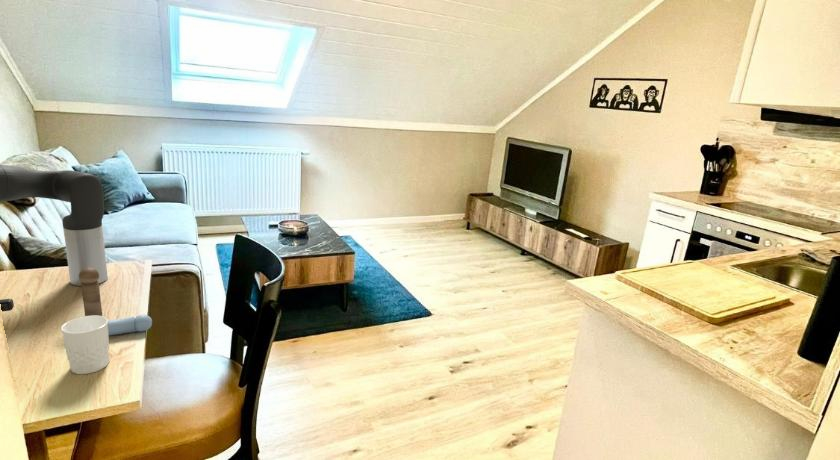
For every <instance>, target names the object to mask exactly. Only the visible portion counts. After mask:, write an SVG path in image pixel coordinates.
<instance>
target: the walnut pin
mask: <svg viewBox="0 0 840 460" xmlns="http://www.w3.org/2000/svg"><path fill="white" fill-rule="evenodd" d="M98 279H99V272H98V271H97V270H96V269H94V268H85V269H83V270H82V271H81V272H80V273H79V280H80V281H81V286H80V287H81V294H82V301H83V302H82V304H83V311H84V316H92V315H97V316H103V307H102V300H101V291H100V283H99V281H98Z"/></svg>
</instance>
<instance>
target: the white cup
mask: <svg viewBox="0 0 840 460" xmlns="http://www.w3.org/2000/svg"><path fill="white" fill-rule="evenodd" d="M108 321H109V319H108V318H107V317H106V316H104V315H102V316H97V315H92V316H85V315H84V316H80V317H79V316H78V317H76V318H74V319H70V320H69V321H66V322H65V323H63V324H62V325H61V327H60V329H61V335H62V339H63V343H64V349H65V352H66V357H67V360H68V363H69V367H70V371H71V373H74V374H76V375H87V374H92V373H95V372H98V371H101V370H102V369H104V368H105V367H107V366H108V365H109V363H110V351H109V350H110V344H109V343H110V336H109V332H108Z"/></svg>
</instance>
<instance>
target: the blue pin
mask: <svg viewBox="0 0 840 460" xmlns="http://www.w3.org/2000/svg"><path fill="white" fill-rule="evenodd" d="M152 324H153V319H152V318H151V317H150V316H149V315H147V314H139V315H137V316H136V317H135V316H133V317H132V316H131V317H126V318H125V317H124V318H123V317H122V318H118V319H117V318H116V319H110V320H109V319H108V332H109V337H110V336H117V335H123V334H128V333H134V332H139V333H142V332H143V333H144V332H147V331H148V330H149V329H151V328H152Z"/></svg>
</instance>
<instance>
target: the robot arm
mask: <svg viewBox="0 0 840 460" xmlns="http://www.w3.org/2000/svg"><path fill="white" fill-rule="evenodd" d="M103 189H104V188H103V185H102V182H101V180H100V178H99V177H97V176H96V175H95V174H92V173H90V172H89V173H88V172H87V173H86V172H82V171H77V170H33V169H27V168H23V167H20V166H19V167H16V166H13V165H6V164H0V202H10V201H18V200H21V199H27V198H40V199H49V200H55V201H56V200H58V201H61V202H62V201H63V202H66V203H70V213H69V214H67V215H66V216H63V218H62V220H61V221H62V230H63V238H64V244H65V252H66V258H67V259H66V260H67V266H68V276H69V282H70V284H71V285H73V286H78V287H79V286H80V287H81V281H80V280H79V273H80V272H81V271H82V270H83V269H85V268H94V269H96V270H97V271H98V272H99V279H98V281H99V284H101V283H104V282H105V281H107V280H108V277H109V276H108V268H107V267H108V266H107V257H106V248H105V239H104V230H103V222H102V221H103V218H104V214H105V206H104V205H105V204H104V202H105V200H104V190H103ZM0 304H1V310H2V312H10V311H12V310H13V309H14V307H15V304H14V300H13V299H12V298H4V299H0Z"/></svg>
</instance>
